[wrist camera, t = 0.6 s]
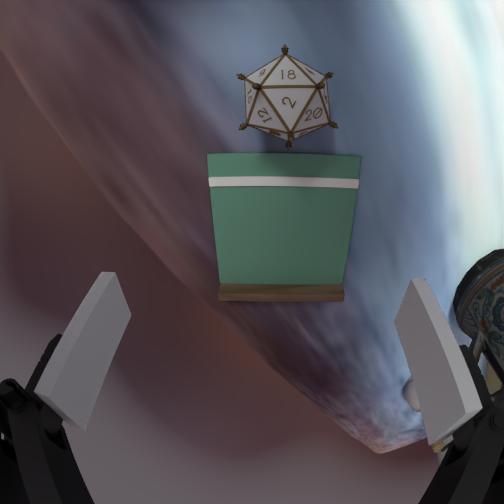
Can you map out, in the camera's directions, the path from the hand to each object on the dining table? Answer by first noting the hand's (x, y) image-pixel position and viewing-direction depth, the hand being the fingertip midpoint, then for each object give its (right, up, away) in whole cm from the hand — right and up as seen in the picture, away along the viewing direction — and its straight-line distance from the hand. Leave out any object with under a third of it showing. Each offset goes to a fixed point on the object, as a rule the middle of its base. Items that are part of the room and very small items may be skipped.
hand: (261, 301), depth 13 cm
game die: (+3, +17, +13) cm, 22 cm away
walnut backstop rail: (+3, -2, +26) cm, 27 cm away
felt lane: (+3, +5, +21) cm, 22 cm away
